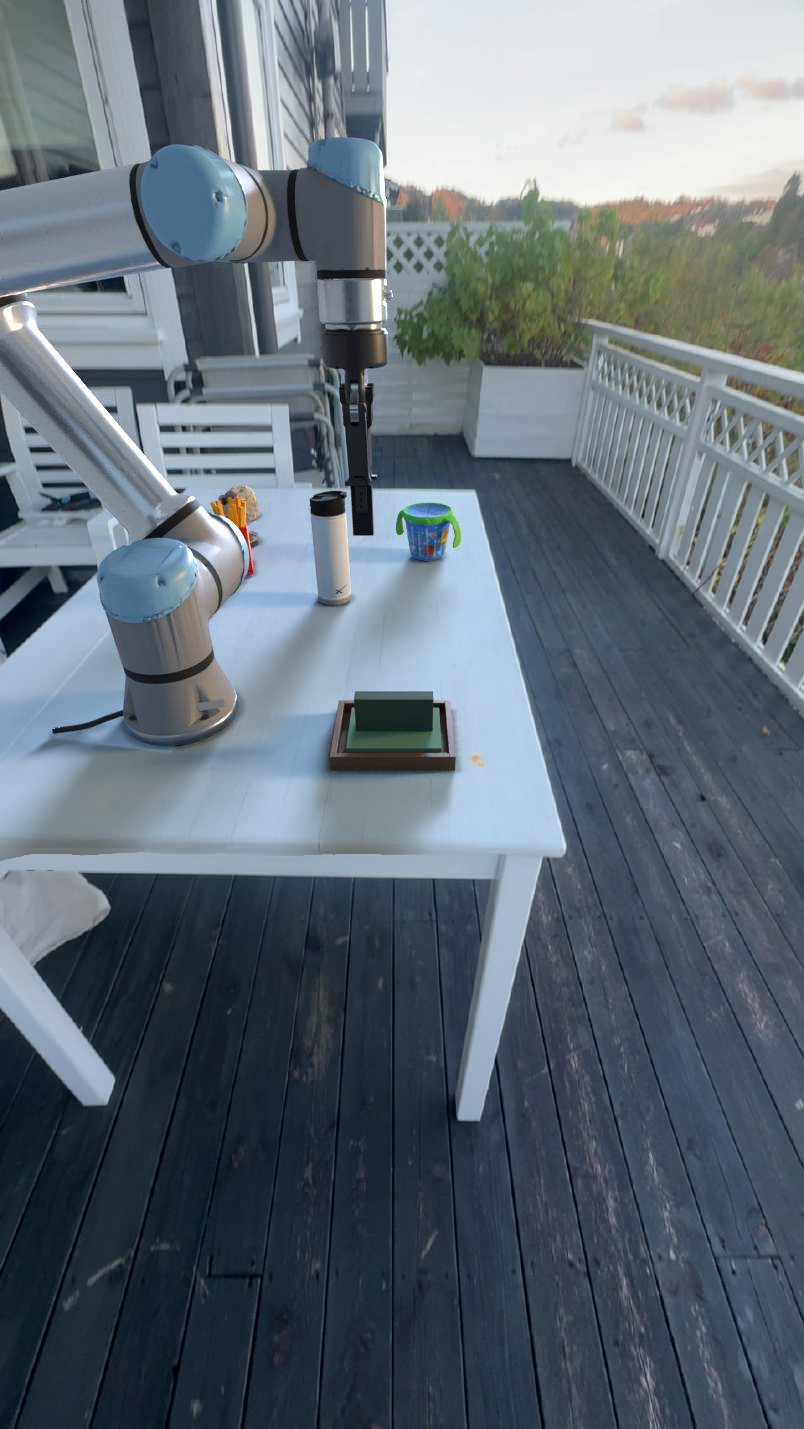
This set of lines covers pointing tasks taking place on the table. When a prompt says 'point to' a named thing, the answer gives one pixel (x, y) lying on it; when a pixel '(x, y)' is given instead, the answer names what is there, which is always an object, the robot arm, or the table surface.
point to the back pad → (394, 739)
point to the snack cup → (428, 529)
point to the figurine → (252, 535)
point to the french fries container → (236, 521)
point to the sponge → (250, 500)
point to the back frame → (392, 760)
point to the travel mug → (331, 547)
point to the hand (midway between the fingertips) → (363, 533)
